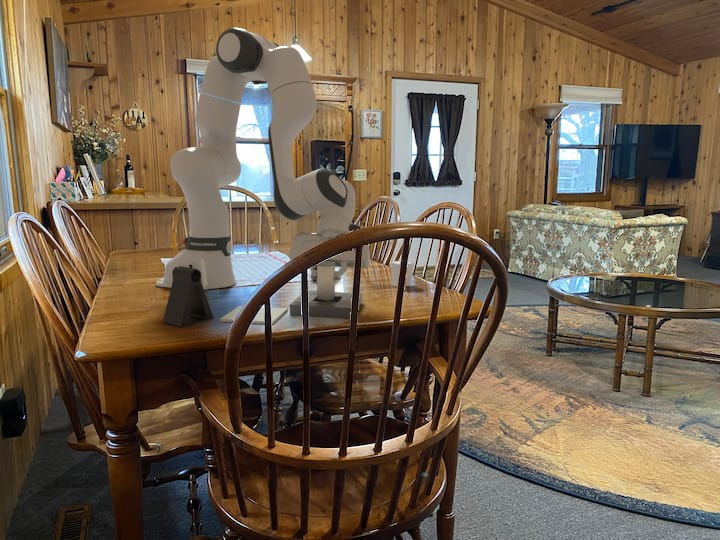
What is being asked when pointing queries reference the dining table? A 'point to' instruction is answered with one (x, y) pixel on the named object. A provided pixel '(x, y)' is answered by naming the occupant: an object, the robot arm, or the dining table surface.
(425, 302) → the dining table surface
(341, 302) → the block
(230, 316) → the mat
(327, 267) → the end cover
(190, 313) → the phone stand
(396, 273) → the shot glass
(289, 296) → the dining table surface
